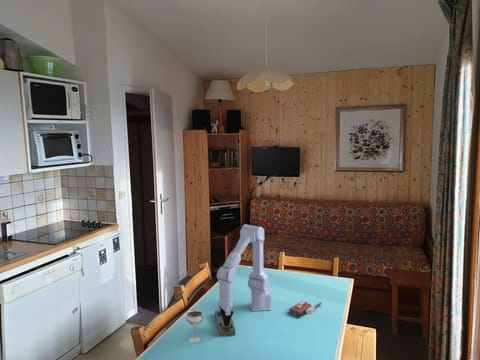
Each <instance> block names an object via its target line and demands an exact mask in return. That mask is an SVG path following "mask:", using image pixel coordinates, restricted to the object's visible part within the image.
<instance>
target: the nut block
mask: <svg viewBox="0 0 480 360" xmlns="http://www.w3.org/2000/svg"><path fill="white" fill-rule="evenodd" d="M220 318H221V327H220V328H221V329H229V328H231V320H230V324H229V326H224V322H223V317H222V315H221V316H220Z"/></svg>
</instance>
